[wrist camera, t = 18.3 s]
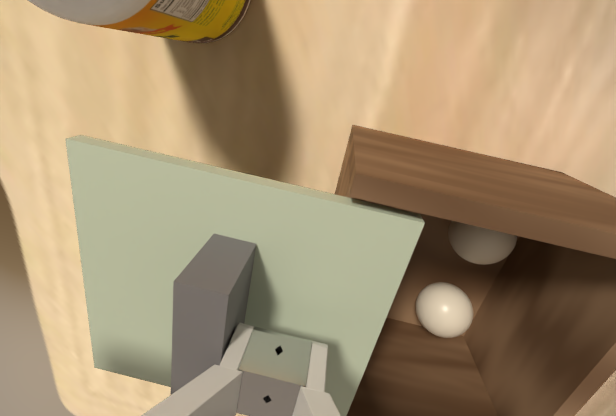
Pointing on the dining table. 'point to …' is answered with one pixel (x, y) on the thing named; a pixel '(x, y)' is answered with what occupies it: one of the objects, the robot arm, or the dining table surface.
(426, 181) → the walnut box
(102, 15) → the supplement bottle
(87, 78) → the dining table surface
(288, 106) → the dining table surface
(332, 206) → the lid
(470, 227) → the ball
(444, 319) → the ball
